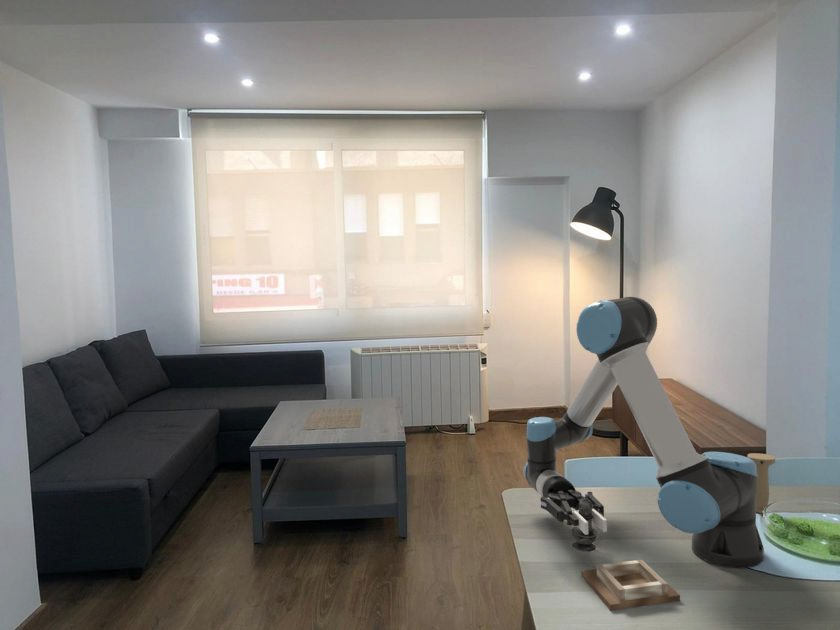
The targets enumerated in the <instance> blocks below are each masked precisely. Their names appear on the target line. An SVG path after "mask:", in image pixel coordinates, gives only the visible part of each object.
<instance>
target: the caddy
mask: <svg viewBox="0 0 840 630" xmlns="http://www.w3.org/2000/svg"><path fill="white" fill-rule="evenodd" d="M580 575H581V577H582V579H583V580H584V581H585V582H586V583H587V584H588V586H589V587H590V588H591V589H592V591H594V593H595V594H596V595H597V596H598V598H599V599H600V601H602V602H603V603H604V605H605V606H606V607H607V608H608V609H609V611H610V612H611V611H616V610H617V611H618V610H624V609H633V608H638V607H646V606H647V607H648V606H652V605H660V604H668V603H674V602H680V601H681V595H680V594H679V593H678V592H677V590H675V589H674V588H673V587H672V586H671V585H669V583H668V582H667V581H666V580H664V578H662V577H661V576H660V575H659V574H658V573H657V572H656V571H655V570H653V568H652V567H651V566H649V565H648V564H647V563H646V562H645V561H644V560H643V559H637V560H628V561H619V562H613V563H603V564H597V565H596V568H592V569H586V570H585V569H584V570H581V574H580Z"/></svg>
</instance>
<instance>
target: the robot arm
mask: <svg viewBox="0 0 840 630" xmlns="http://www.w3.org/2000/svg"><path fill="white" fill-rule="evenodd" d="M657 326H658V318H657V313H656V311H655V309H654V308H653V307H652V305H651V304H650V303H649V302H648V301H646V300H644V299H642V298H641V297H637V296H636V297H635V296H625V297H620V298H614V299H602V300H599V301H596V302H593V303H590V304H588V305H586V307H584V308H583V310H581V312H580V314H579V316H578V320H577V322H576V336H577V339H578V342H579V344H580V345H581V347H582V348H583V349H584V350H585V351H588V352H589V353H591V354H595V355H596V357H597V358H598V359H596V360H597V361H596V362H595V364H594V365H593V367H592V368H591V370H590V372H589V374H588V376H587V377H586V379H585V380H584V382H583V383H582V385H581V386H580V389H579V390H578V392H577V394H576V395H575V397H574V398H573V400H572V402H571V403H570V405H569V407H568V408H567V410H566V412H565V413H564V414H563V416H562V417H561V418H560V419H558V420H555V419H554V418H552V417H546V416H539V417H538V416H537V417H532V418H530V419H528V421H527V423H526V435H525V437H526V452H527V461H526V463H525V464H524V466H523V470H522V471H523V477H524V479H525V480H526V482H527V483H528V485H529V486H530V487H531V488H533V489H534V490H535V491H536V493H537V494H539V496H540V508H541V509H543V510H546V512H548V513H549V514H550V515H551V516H552V517H553V518H555V519H556V520H557V521H558V522H559V523H564V521H566V522H567V523H566V525H567V526H574V527H576V526H577V527H578V528H579V529H580V530H581V531H582V532H583V533H584V534H585V535H587V534H588V522H587V521H586V520H585V519H584V518H583V517H582V516H581V515H580V514H579V502H580V500H582V499H584V498H585V496H587V497H588V498H587V499H588V500H590V501H591V502H592V515H593V518H592V523H593V524H594V525H595V526H596V527H598V529H599V530H600V531H602V532H603V533H607V532H608V522H607V521H608V520H607V519H606V518H605V506H604V505H603V504H602V502H600V500H598V499H597V498H596V497H595V496H594V494H593V492H592V491H587V492H586V493H584V494H583V493H582V492H580V491H577V490H576V489H575V486H574V485H573V484H572V482H570V481H569V480H568V479H567V478H566V477H565V476H563V475H562V473H560V472H559V471H558V470H557V451H559V450H562V449H564V448H568V447H571V446H573V445H577V444H580V443H583V442H585V441H586V440H588V439H589V438H591V436H592V435H593V433H594V432H593V428H594V424H593V423H594V421H595V420H596V418H597V417H598V415H599V414H600V413H601V411H602V409H604V406H605V405H606V403H607V402H608V400H609V399H610V398H611V396H612V394H613V393H614V392H615V389H616V388H617V386H619V389H620V391H621V392H622V395H623V397H624V399H625V400H626V403H627V405H628V407H629V409H630V412H631V413H632V415H633V417H634V419H635V421H636V424H637V425H638V428H639V429H640V431H641V434H642V436H643V438H644V440H645V442H646V444H647V446H648V448H649V450H650V452H651V454H652V456H653V458H654V461H655V462H656V464H657V467H658V469H657V472H656V475H655V479H656V480H657V483H658V485H659V487H660V489H659V491H658V497H657V505H658V509H659V512H660V513H661V515H662V516H663V517H664V519H665V520H666V521H667V523H669V524H670V526H672V527H674V528H675V529H678V530H680V531H681V532H683V533H687V534H692V537H691V550H692V552H693V554H695V555H696V556H697V557H698V558H700V559H702V560H704V561H706V562H708V563H710V564H714V565H717V566H722V567H727V568H737V569H743V568H752V567H755V566H758V565H760V564H761V563H762V562H763V561H764V559H765V555H764V554H765V548H764V545H763V542H762V539H761V536H760V533H759V530H758V526H757V523H756V521H757V520H756V519H757V512H756V493H757V477H758V475H757V468H756V464H755V462H754V461H753V460H751V459H749V458H747V456H744V455H740V454H736V453H732V452H723V451H705V452H703V453H702V454H699V452H697V451H696V449H695V447H694V445H693V443H692V441H691V439H690V437H689V436H688V433H687V432H686V429H685V427H684V426H683V424H682V421H681V419H680V417H679V416H678V413H677V411H676V410H675V408H674V405H673V404H672V402H671V400H670V398H669V396H668V394H667V391H665V388H664V386H663V383H662V382H661V381H660V380H661V379H659V376H658V375H657V372H656V370H655V368H654V366H653V364H652V363H651V361H650V358H649V356H648V355H647V351H648V347H649V345H650V344H651V341H653V338H654V336H655V334H656V331H657V329H658V328H657ZM572 509H574V510H572Z"/></svg>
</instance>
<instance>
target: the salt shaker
mask: <svg viewBox="0 0 840 630" xmlns="http://www.w3.org/2000/svg"><path fill="white" fill-rule="evenodd" d="M587 498H588V497H587V496H585V498H584V499H582V500H580V502H579V510H578V513H579V514H580V515H581V516H582V517H583V518H584V519H585V520H586V521H587V522H588V534H587V535H585V534H584V533H583V532H582V531H581V530H580V529H579V528H578V527H577V526H574V527H572V528H571V529H570V531H571V533H572V534H571V535H572V537H573V540H574V542H572V544H571V547H572V548H573V549H574V550H577V551H578V552H585V553H591V552H595V550H596V549H597V547H596V545H595V544H593V543H595V541H596V538H597V536H598V535H599V532H598V530H596V529H595V528H593V525H592V523H593V522H592V518H593V515H592V502H591V501H590V500H588V499H587Z"/></svg>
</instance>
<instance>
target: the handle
mask: <svg viewBox="0 0 840 630" xmlns="http://www.w3.org/2000/svg"><path fill="white" fill-rule="evenodd" d="M746 457H747V458H749V459H751V460H753V461H754V462H755V464H756V468H757V475H758V477H757V493H756V514H761V513H762V511H763V510H764V508H765V507H767V508H768V505H769V500H770V483H769V466H772V465H773V464H775V463H776V456H774V455H771V454H768V453H767V454H766V453H759V452H758V453H753V452H751V453H748V454H747V456H746ZM762 514H763V513H762Z"/></svg>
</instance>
